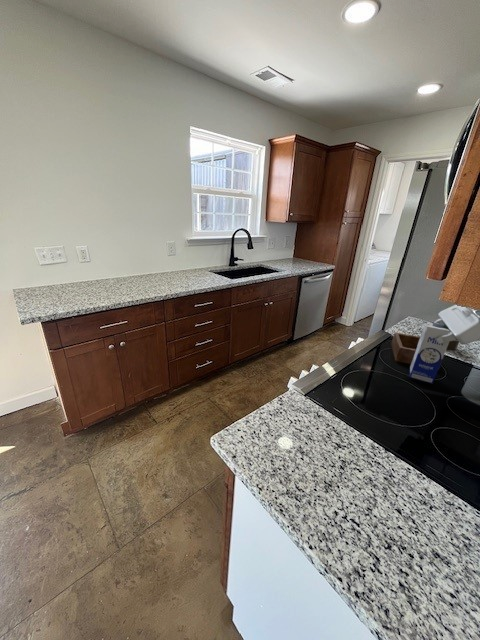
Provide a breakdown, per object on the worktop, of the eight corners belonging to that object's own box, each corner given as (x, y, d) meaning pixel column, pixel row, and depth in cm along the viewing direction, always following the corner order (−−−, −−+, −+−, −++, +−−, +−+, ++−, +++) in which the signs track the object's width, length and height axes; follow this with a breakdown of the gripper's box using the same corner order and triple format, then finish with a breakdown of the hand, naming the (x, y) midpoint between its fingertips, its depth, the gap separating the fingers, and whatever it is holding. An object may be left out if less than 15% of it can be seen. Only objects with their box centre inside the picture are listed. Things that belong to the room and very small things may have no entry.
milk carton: (409, 377, 93) (427, 325, 85) (408, 367, 98) (425, 318, 90) (433, 383, 90) (454, 331, 82) (431, 374, 95) (451, 323, 87)
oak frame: (429, 351, 110) (434, 338, 108) (439, 369, 98) (444, 356, 95) (391, 344, 115) (394, 332, 112) (395, 361, 102) (399, 347, 100)
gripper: (462, 295, 90) (420, 316, 97) (489, 316, 72) (435, 340, 79) (473, 309, 90) (431, 329, 97) (502, 334, 72) (447, 356, 80)
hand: (433, 334), depth 88 cm, fingers open, 8 cm apart
